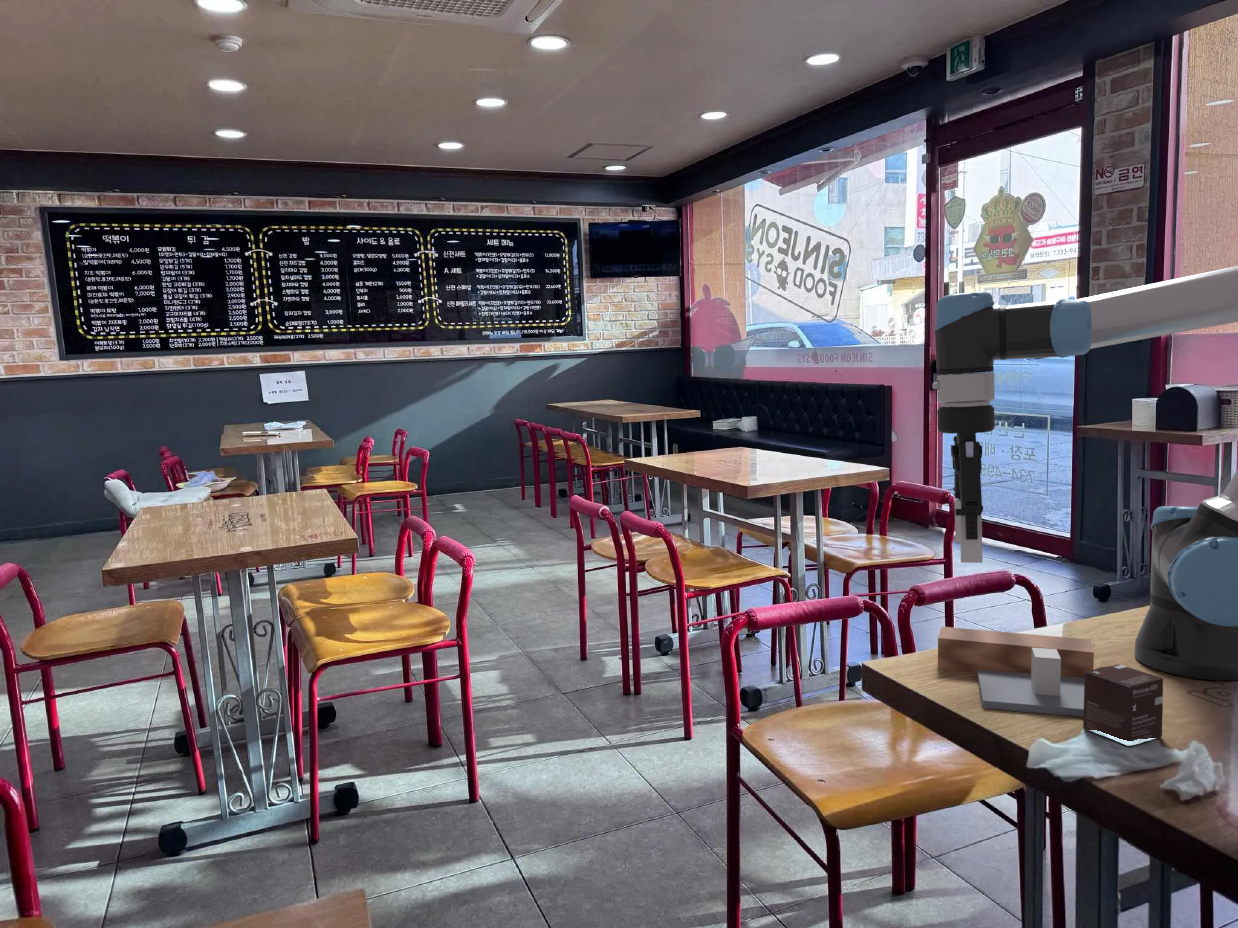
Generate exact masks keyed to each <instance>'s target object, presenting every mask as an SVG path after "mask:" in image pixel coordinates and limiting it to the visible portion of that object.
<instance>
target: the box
mask: <svg viewBox="0 0 1238 928" xmlns="http://www.w3.org/2000/svg"><path fill="white" fill-rule="evenodd" d="M1163 702H1164V677H1161V676H1159V675H1155V674H1152V673H1148V672H1145V671H1142V670H1138V669H1135V668H1133V667H1129V666H1125V665H1123V664H1122V665H1121V664H1114V665H1110V666H1108V665H1107V666H1100V667H1097V668H1095V669H1094V668H1093V670H1090V671H1085V680H1084V717H1082V719H1083V720H1082V721H1083V724H1082V725H1083V726H1082V728H1083V729H1084V730H1085V731H1087V730H1097V731H1101V732H1103V733H1106V734H1109V735H1111V736H1114V737H1117V738H1119V739H1123V740H1127V741H1134V740H1137V739H1148V738H1157V739H1161V738H1162V737H1163V716H1164V715H1163V707H1164V706H1163V705H1164V704H1163ZM1157 739H1156V740H1157Z"/></svg>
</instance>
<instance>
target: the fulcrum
mask: <svg viewBox="0 0 1238 928" xmlns="http://www.w3.org/2000/svg"><path fill="white" fill-rule="evenodd" d="M976 677H977V682H978V687H979V693H980V699H981V703H982V708H983V709H990V710H1002V711H1003V710H1004V711H1012V712H1023V713H1025V712H1026V713H1035V714H1046V715H1055V716H1056V715H1058V716H1068V717H1069V716H1070V717H1078V718H1080V717H1081V718H1084V680H1085V678H1082V677H1069V676H1061V658H1060V656H1059V654H1058V652H1057V649H1046V648H1032V658H1031V674H1029V673H1016V672H1003V671H990V670H977V673H976Z"/></svg>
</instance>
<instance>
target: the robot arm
mask: <svg viewBox="0 0 1238 928" xmlns="http://www.w3.org/2000/svg"><path fill="white" fill-rule="evenodd" d="M1232 323H1233V324H1234V323H1238V265H1234V266H1230V267H1225V268H1221V269H1216V270H1212V271H1207V272H1206V271H1205V272H1202V273H1197V274H1192V275H1188V276H1183V277H1177V278H1173V279H1169V280H1164V281H1159V282H1154V283H1148V284H1145V285H1140V286H1135V287H1130V288H1124V289H1119V290H1117V291H1110V292H1106V293H1101V294H1097V295H1096V294H1095V295H1092V296H1088V297H1082V298H1077V299H1065V298H1063V299H1062V298H1061V299H1057V300H1048V301H1040V302H1038V301H1037V302H1029V303H1019V304H1009V305H1008V304H1007V305H1006V304H1003V305H1002V304H997V305H996V304H995V302H994V300H993V294H991V293H990V292H988V291H987V292H986V291H978V292H962V293H961V292H960V293H952V294H948V295H943V296H942V297H940V298H939V299H938V301H937V302H936V304H935V326H934V327H935V328H934V332H935V333H934V336H935V337H934V338H935V339H934V341H935V361H936V362H935V364H936V366H935V367H936V375H937V376H936V379H937V381H935V382H933V383H932V389H933V390H934V389H935V390H936V389H937V392H936V393H937V403H939V404H941V406H939V407H938V409H936V412H937V414H936V415H937V431H938V432H939V433H941V434H947V435H948V434H949V435H950V434H951V435H952V434H955V435H954V436H953V437H952V438H953V439H952V440H953V441H954V444H951V445H950V454H951V455H950V456H951V459H952V460H951V461H952V469H953V470H954V471H953V472H954V474H953V475H954V481H953V483H954V487H953V492H954V493H953V496H954V531H955V532H954V533H955V536H954V537H955V544H960V548H959V549H960V563H963V564H964V563H968V564H969V563H970V564H971V563H972V564H973V563H974V564H977V563H979V564H983V526H982V525H983V520H982V519H983V518H982V516H983V515H982V513H983V511H984V506H983V501H982V500H983V499H982V479H981V478H982V477H981V473H982V458H983V445H981V443H980V441H977V435H976V434H977V433H978V434H979V433H980V434H981V433H989V432H993V431H994V430H995V427H996V425H995V422H996V421H995V418H996V417H995V406H993V404H991V402H993V401H994V400H995V396H996V391H995V372H994V371H995V369H994V362H995V361H997V360H1000V361H1003V360H1004V361H1006V360H1018V359H1019V360H1022V359H1034V360H1041V359H1049V358H1063V359H1064V358H1068V357H1073V356H1084V355H1085V354H1086V355H1087V353H1088V352H1089V351H1090V350H1091V349H1097V348H1101V347H1107V346H1113V345H1119V344H1123V343H1130V342H1135V341H1140V340H1145V339H1150V338H1158V337H1162V336H1168V335H1173V334H1174V335H1175V334H1178V333H1184V332H1191V331H1195V330H1200V329H1201V330H1202V329H1206V328H1207V329H1208V328H1212V327H1218V326H1223V325H1228V324H1232ZM1152 515H1153V516H1152V522H1151V524H1150V529H1151V531H1152V535H1151V536H1152V537H1151V562H1150V592H1149V593H1150V594H1149V595H1150V596H1149V597H1150V598H1149V607H1148V610H1147V612H1146V615H1145V617H1144V619H1143V622H1142V623H1141V627H1140V628H1139V631H1138V633H1137V636H1136V638H1135V642H1134V657H1135V659H1136V660H1137V661H1138V662H1140V663H1142V664H1143V665H1145V666H1147V667H1148V668H1152V669H1155V670H1157V671H1161V672H1164V673H1167V674H1171V675H1177V676H1181V677H1187V678H1192V679H1200V680H1209V681H1238V468H1237V469H1236V471H1235V473H1234V474H1233V476H1232V478H1231V479H1230V481H1229V482H1228V484H1227V486H1226V487H1225V489H1224V491H1223V492H1222V493H1221V494H1220V495H1217V496H1213V497H1209V498H1207V499H1203V500H1201V501H1200V504H1199V505H1198V506H1185V505H1183V506H1182V505H1161V506H1158V507H1157V508H1156V509H1155V510H1154V511H1153V514H1152Z"/></svg>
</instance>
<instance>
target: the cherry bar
mask: <svg viewBox="0 0 1238 928" xmlns="http://www.w3.org/2000/svg"><path fill="white" fill-rule="evenodd" d="M937 636H938V637H937V669H938V670H944V671H945V670H946V671H954V672H962V673H963V672H964V673H972V674H973V673H974V674H977V670H990V671H1003V672H1016V673H1029V674H1031V658H1032V648H1046V649H1057V652H1058V654H1059V656H1060V658H1061V676H1069V677H1082V678H1085V671H1090V670H1094V662H1095V661H1094V660H1095V659H1094V657H1095V656H1094V653H1095V652H1094V648H1093V643H1092V641H1091V639H1087V638H1079V637H1078V638H1076V637H1064V636H1055V635H1041V634H1031V633H1020V632H1006V631H997V630H995V631H994V630H984V629H983V630H982V629H974V628H972V629H971V628H963V627H962V628H961V627H950V626H941V627H940V629H939V634H938V635H937Z"/></svg>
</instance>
